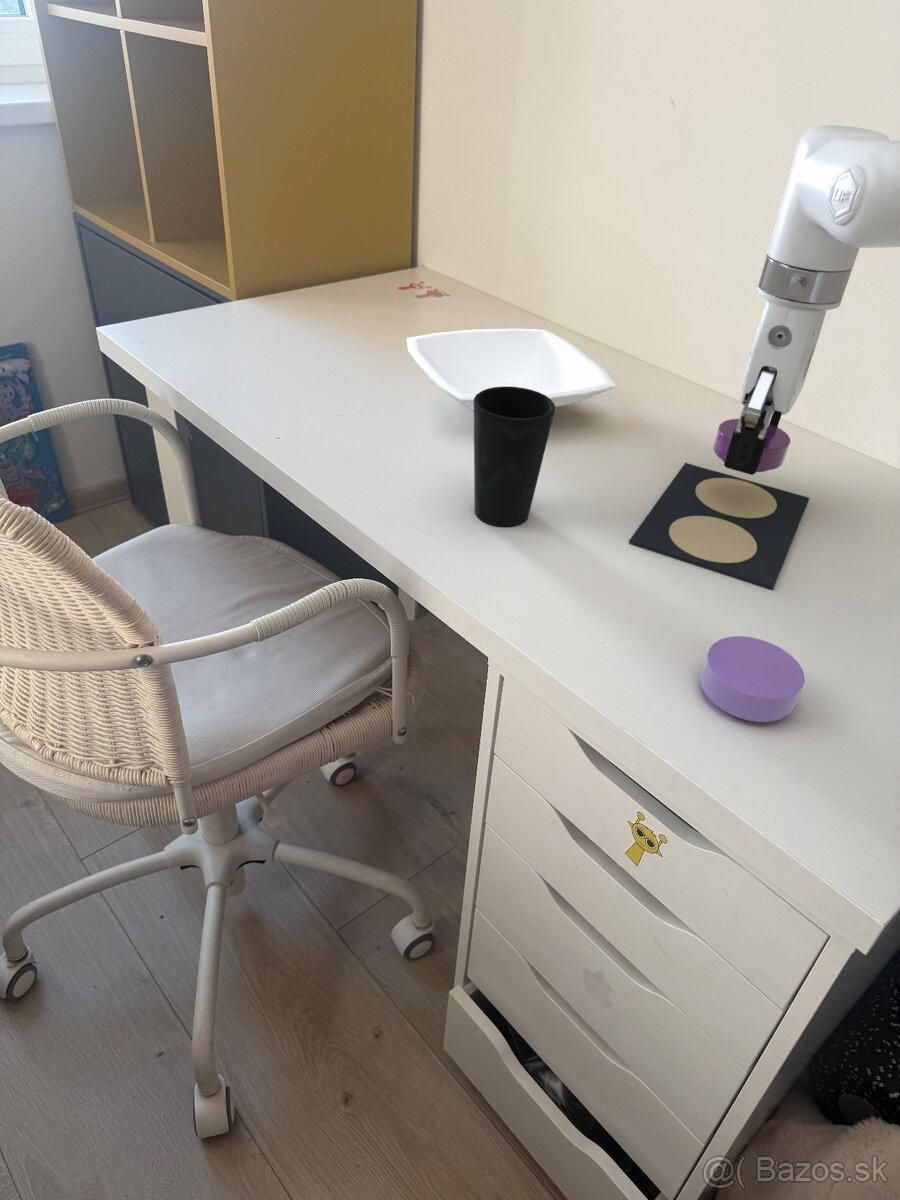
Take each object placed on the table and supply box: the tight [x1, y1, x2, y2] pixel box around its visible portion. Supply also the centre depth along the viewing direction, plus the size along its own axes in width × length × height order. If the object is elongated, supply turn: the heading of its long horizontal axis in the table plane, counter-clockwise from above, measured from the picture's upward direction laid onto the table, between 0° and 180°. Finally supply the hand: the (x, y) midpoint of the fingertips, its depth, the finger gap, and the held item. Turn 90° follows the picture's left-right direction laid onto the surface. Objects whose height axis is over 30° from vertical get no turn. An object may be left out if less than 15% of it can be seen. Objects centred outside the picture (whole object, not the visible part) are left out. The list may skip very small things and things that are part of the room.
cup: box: [473, 386, 556, 528], centre depth 81 cm, size 8×8×12 cm
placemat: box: [628, 462, 810, 591], centre depth 86 cm, size 14×20×1 cm
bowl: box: [406, 328, 616, 412], centre depth 105 cm, size 22×23×6 cm
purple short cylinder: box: [712, 418, 791, 473], centre depth 86 cm, size 7×7×3 cm
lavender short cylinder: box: [699, 635, 806, 723], centre depth 64 cm, size 7×7×3 cm
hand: (748, 454), depth 87 cm, fingers closed on purple short cylinder, 7 cm apart
